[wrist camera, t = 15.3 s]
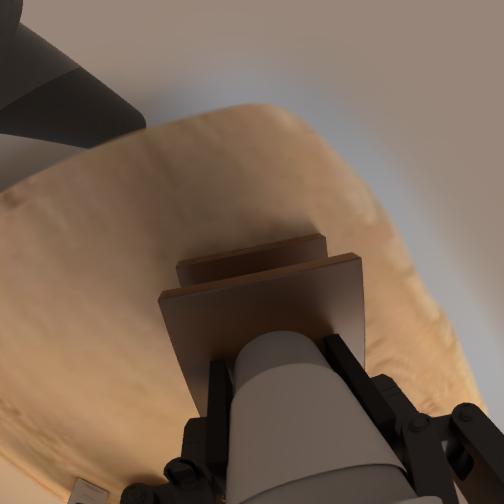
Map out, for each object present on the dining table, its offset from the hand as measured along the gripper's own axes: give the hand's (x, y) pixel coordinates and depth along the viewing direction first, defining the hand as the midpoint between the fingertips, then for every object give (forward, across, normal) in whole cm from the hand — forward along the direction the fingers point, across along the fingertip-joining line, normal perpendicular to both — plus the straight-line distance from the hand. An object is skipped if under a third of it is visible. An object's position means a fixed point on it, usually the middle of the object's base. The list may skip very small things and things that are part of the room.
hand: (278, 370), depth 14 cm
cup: (0, 0, 0) cm, 0 cm away
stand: (+7, 0, 0) cm, 7 cm away
